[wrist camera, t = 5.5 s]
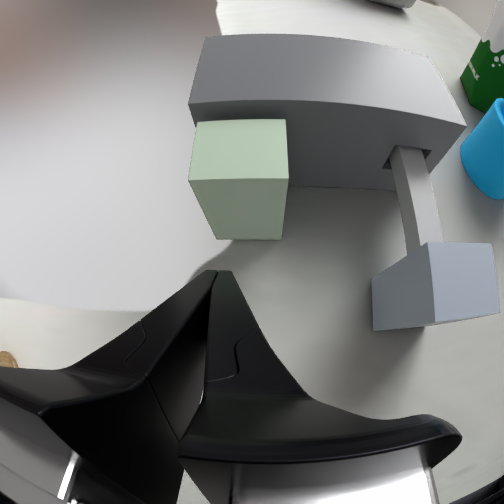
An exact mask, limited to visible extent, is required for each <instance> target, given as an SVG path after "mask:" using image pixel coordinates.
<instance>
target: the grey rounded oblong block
mask: <svg viewBox="0 0 504 504" xmlns="http://www.w3.org/2000/svg"><path fill="white" fill-rule="evenodd" d="M371 1H375V2H379V3H382V4H386V5H390V6H393V7H396V8H400V9H401V8H402V7H403V8H410V7H412V6H413V4H414V3H415V1H416V0H371Z"/></svg>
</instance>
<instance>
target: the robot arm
mask: <svg viewBox="0 0 504 504" xmlns="http://www.w3.org/2000/svg"><path fill="white" fill-rule="evenodd" d="M203 388H204V389H203ZM202 392H203V397H202V401H201V403H200V400H201V396H202ZM199 404H200V405H199ZM461 441H462V435H461V434H460V432H459V431H458V430H457V429H456V428H455V427H454V426H453V425H451V424H450V423H449V422H447V421H445V420H443V419H440V418H437V417H435V416H432V415H428V414H421V415H414V416H409V417H405V418H400V419H392V420H379V419H371V418H367V417H363V416H360V415H357V414H353V413H350V412H347V411H344V410H342V409H339V408H336V407H333V406H330V405H327V404H325V403H322V402H319V401H317V400H315V399H313V398H312V397H311V396H309V395H308V394H307V393H306V392H305V391H304V390H303V389H302V388H301V386H300V385H299V384H298V383H297V381H296V380H295V379H294V378H293V376H292V375H291V374H290V373H289V371H288V370H287V369H286V367H285V366H284V365H283V364H282V362H281V361H280V360H279V358H278V357H277V356H276V354H275V353H274V351H273V350H272V349H271V347H270V345H269V344H268V342H267V340H266V339H265V337H264V335H263V333H262V331H261V329H260V328H259V325H258V323H257V321H256V319H255V317H254V315H253V313H252V311H251V309H250V307H249V305H248V303H247V301H246V299H245V297H244V295H243V293H242V291H241V289H240V287H239V285H238V283H237V281H236V279H235V277H234V275H233V273H232V271H223V270H221V271H219V272H218V271H216V270H206V271H204V272H203V273H201V274H200V275H199V276H197V277H196V278H195V279H193V280H192V281H191V282H189V283H188V284H187V285H185V286H184V287H183V288H181V289H180V290H179V291H178V292H176V293H175V294H174V295H172V296H171V297H170V298H168V299H167V300H166V301H164V302H163V303H162V304H160V305H159V306H158V307H157V308H155V309H154V310H153V311H151V312H150V313H149V314H147V315H146V316H145V317H143V318H142V319H141V321H138V322H137V323H135V324H134V325H133V326H132V327H130V328H129V329H128V330H126V331H125V332H123V333H122V334H121V335H119V336H118V337H116V338H115V339H113V340H112V341H110V342H109V343H107V344H106V345H104V346H102V347H101V348H99V349H98V350H96V351H94V352H93V353H91V354H90V355H88V356H86V357H85V358H83V359H82V360H80V361H78V362H77V363H75V364H73V365H72V366H69V367H67V368H63V369H58V370H41V369H25V368H13V367H3V366H0V504H176V503H177V499H178V494H179V490H180V485H181V481H182V477H183V472H184V469H185V470H186V472H187V473H188V475H189V476H190V477H191V479H192V480H193V482H194V483H195V484H196V486H197V487H198V488H199V490H200V491H201V492H202V494H203V495H204V496H205V497H206V499H207V500H208V501H209V502H210V504H439V499H438V494H437V490H436V486H435V481H434V477H433V473H432V468H433V467H435V466H436V465H437V464H438V463H440V462H441V461H442V460H443V459H445V458H446V457H447V456H448V455H449V454H450V453H452V452H453V451H454V450H455V449H456V448H457V447H458V446H459V444H460V443H461ZM449 504H504V476H502V477H500V478H499V479H497V480H495V481H494V482H492V483H490V484H488V485H487V486H485V487H483V488H481V489H479V490H477V491H475V492H473V493H471V494H469V495H467V496H465V497H463V498H461V499H459V500H456V501H454V502H452V503H449Z"/></svg>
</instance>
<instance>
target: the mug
mask: <svg viewBox="0 0 504 504" xmlns="http://www.w3.org/2000/svg"><path fill="white" fill-rule="evenodd" d="M460 154H461V159H462V163H463V165H464V167H465V170H466V172H467V173H468V175H469V177H470V178H471V180H472V181H473V183H474V184H475V185H476V186H477V187H478V188H479V189H480V190H481V191H482V192H483V193H485V194H486V195H487V196H489V197H491V198H493V199H503V198H504V99H503V98H498V99H496V101H495V102H494V103H493V105H492V106H491V107H490V109H489V110H488V112H487V113H486V114H485V116H484V117H483V118H482V120H481V121H480V122H479V123H478V125H477V126H476V127H475V129H474V130H473V131H472V132H471V134H470V135H469V136H468V138H467V139H466V140H465V141H464V143H463V144H462V145H461V151H460Z"/></svg>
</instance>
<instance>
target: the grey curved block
mask: <svg viewBox="0 0 504 504" xmlns="http://www.w3.org/2000/svg"><path fill="white" fill-rule="evenodd" d="M188 105H189V108H190V111H191V115H192V118H193V121H194V124H195V127H197V122H204V121H220V120H245V119H285V120H286V136H287V154H288V174H289V180H288V186H305V187H336V188H357V189H374V190H389V191H397V190H396V185H395V180H394V176H393V172H392V168H391V163H390V159H389V155H390V153H391V152H392V150H393V148H394V146H395V145H402V146H409V147H415V148H421V150H422V153H423V156H424V160H425V163H426V166H427V170H428V173H429V174H430V173H431V171H432V170H433V169H434V168H435V167H436V165H437V164H438V163H439V162H440V160H441V159H442V158H443V157H444V155H445V154H446V153H447V152H448V150H449V149H450V148H451V147H452V145H453V144H454V143H455V141H456V140H457V139H458V138H459V136H460V135H461V134H462V132H463V131H464V130H465V128H466V127H467V125H466V123H465V120H464V118H463V116H462V114H461V112H460V110H459V108H458V106H457V104H456V102H455V101H454V99H453V97H452V95H451V93H450V91H449V89H448V88H447V86H446V84H445V82H444V81H443V79H442V77H441V76H440V74H439V72H438V71H437V69H436V68H435V66H434V64H433V63H432V61H431V60H430V58H429V57H428V56H424V55H421V54H417V53H414V52H410V51H406V50H402V49H398V48H393V47H389V46H384V45H379V44H374V43H369V42H363V41H356V40H350V39H342V38H334V37H325V36H313V35H297V34H241V35H225V36H214V37H205V41H204V44H203V48H202V51H201V55H200V58H199V62H198V66H197V70H196V74H195V77H194V82H193V86H192V89H191V93H190V98H189V102H188Z"/></svg>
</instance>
